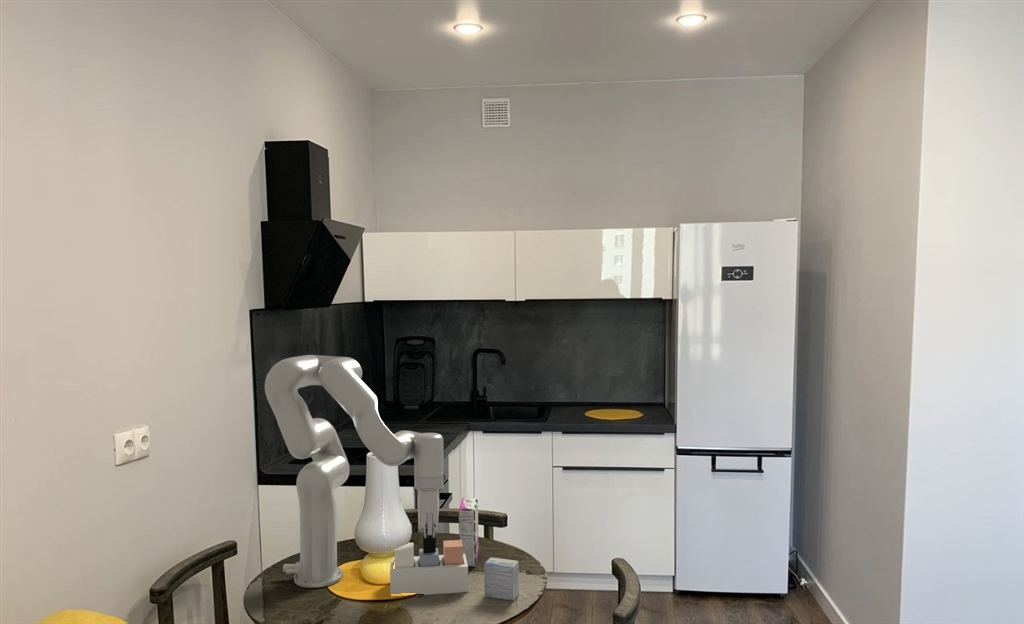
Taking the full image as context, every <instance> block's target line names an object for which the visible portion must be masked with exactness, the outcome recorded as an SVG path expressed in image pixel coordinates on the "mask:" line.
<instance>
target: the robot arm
mask: <svg viewBox="0 0 1024 624" xmlns="http://www.w3.org/2000/svg"><path fill="white" fill-rule="evenodd" d="M265 377H266V378H265V381H264V392H265V396H266V399H267V401H268V404H269V405H270V408H271V410H272V412H273V414H274V417H275V419H276V421H277V425H278V428H279V430H280V432H281V435H282V438H283V440H284V443H285V445H286V447H287V450H288V453H290V455H291V456H292V457H294V458H295V459H296V460H297V459H298V460H305V459H309V458H311V459H312V461H310V462H308V463H307V464H306V465H304V466H303V467H302V469H300V471H299V473H298V474H297V477H296V485H295V486H296V492H297V496H298V497H297V499H298V503H299V504H298V505H299V561H298V562H297V561H296V562H295V563H284V564H283V567H282V572H283V573H285V574H286V575H293V574H294V576H293V582H294V584H296V585H297V586H299V587H301V588H308V589H313V588H315V589H316V588H323V587H327V586H331V585H334V584H335V583H339V581H340V580H342V578H343V576H344V571H343V569H342V568H341V567H340V566H338V517H337V512H338V511H337V504H336V500H335V495H334V491H335V490H336V489H338V488H339V487H341V486H342V485H344V483H346V481H347V480H348V478H349V476H350V462H349V461H348V458H347V455H346V453H345V450H344V449H343V445H342V443H341V440H340V438H339V435H338V433H337V431H336V429H335V428H334V426H333V425H332V424H331V423H330V422H329V421H328V420H326V419H324V418H321V417H315V418H313V416H312V415H311V412H310V410H309V407H308V405H307V403H306V402H305V400H304V399H303V397H302V396H301V395H300V394H299V391H298V390H299V389H301V388H305V387H309V386H322V387H323V388H324V390H325V391H327V393H328V394H330V396H331V397H332V398H333V399H334V400H335V401H336V402H337V404H338V405H340V407H341V408H342V409H343V410H344V412H346V414H348V415H349V417H350V418H351V419H352V421H353V425H354V427H355V430H356V432H357V434H358V436H359V438H360V440H361V442H362V443H363V445H365V447H366V448H367V449H368V451H370V453H371V454H372V455H373V456H374V457H375V458H376V459H377V460H378V461H379V462H380V463H382V464H383V465H385V466H387V467H398V466H400V465H402V464H403V463H406V461H407V460H411V459H413V460H414V461H413V462H414V464H413V465H414V468H413V469H414V477H413V478H414V489H415V490H417V491H418V494H417V519H418V520H417V521H418V529H419V530H422V529H423V535H422V544H423V545H422V549H423V553H435V552H436V548H437V544H436V542H437V537H436V529H438V527H439V513H440V512H439V511H440V490H441V489H443V488H444V487H445V486H444V481H445V480H444V479H445V477H444V437H443V435H442V434H440V433H437V432H423V433H421V432H416V431H412V430H400V431H397V432H395V433H393V432H392V431H391V430H390V429H389V428H388V426H387V425H385V422H384V421H383V420H382V419H381V416H380V413H379V409H378V407H379V406H378V405H379V402H378V401H379V399H378V396H377V395H376V394H375V393H374V391H372V389H371V388H370V387H369V386H368V385H367V384H366V383H365V382H364V381H363V380H362V377H363V369H362V366H361V365H360V363H359V362H358V361H357V360H356V359H354V358H352V357H348V356H331V355H320V354H319V355H317V354H316V355H315V354H305V355H298V356H292V357H288V358H284V359H281V360H279V361H277V363H275V364H274V365H273V366H272V367H271V369H270V370H269V371H268V373H267V374H266V376H265Z"/></svg>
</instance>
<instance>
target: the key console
mask: <svg viewBox="0 0 1024 624" xmlns="http://www.w3.org/2000/svg"><path fill="white" fill-rule="evenodd" d="M394 562H395V559H393V560H391V559H390V568H389V569H390V570H389V575H390V576H389V592H390V593H389V595H391V594H401V593H418V594H424V596H428V595H442V594H443V595H445V594H455V593H456V594H459V593H469V567H468V564H467V560H466V556H465V554H463V564H460V565H443V554H439V566H428V567H419V555H418V556H416V555H414V567H412V568H395V569H393V565H394Z"/></svg>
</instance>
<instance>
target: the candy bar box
mask: <svg viewBox="0 0 1024 624" xmlns="http://www.w3.org/2000/svg"><path fill="white" fill-rule="evenodd" d="M458 540H462V544H463V554H465V556H466V560H467V564H468V568H469V567H471V568H472V567H473V568H474V567H476V566H477V562H478V556H479V552H480V551H479V550H480V549H479V498H478V497H462V499H461V502H460V504H459V507H458Z"/></svg>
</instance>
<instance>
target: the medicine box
mask: <svg viewBox="0 0 1024 624" xmlns="http://www.w3.org/2000/svg"><path fill="white" fill-rule="evenodd" d="M483 564H484V566H483V567H484V568H483V569H484V581H483V582H484V598H492V599H499V600H506V601H512V602H514V601H515V600H516V598H517V597H518V596H519V594H520V578H519V577H520V574H519V573H520V571H519V569H520V567H519V564H520V562H519V561H518V560H514V559H513V560H512V559H508V558H507V559H506V558H499V557H492V556H491V557H490V558H488V559H487V560H486V561H485V563H483Z"/></svg>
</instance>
